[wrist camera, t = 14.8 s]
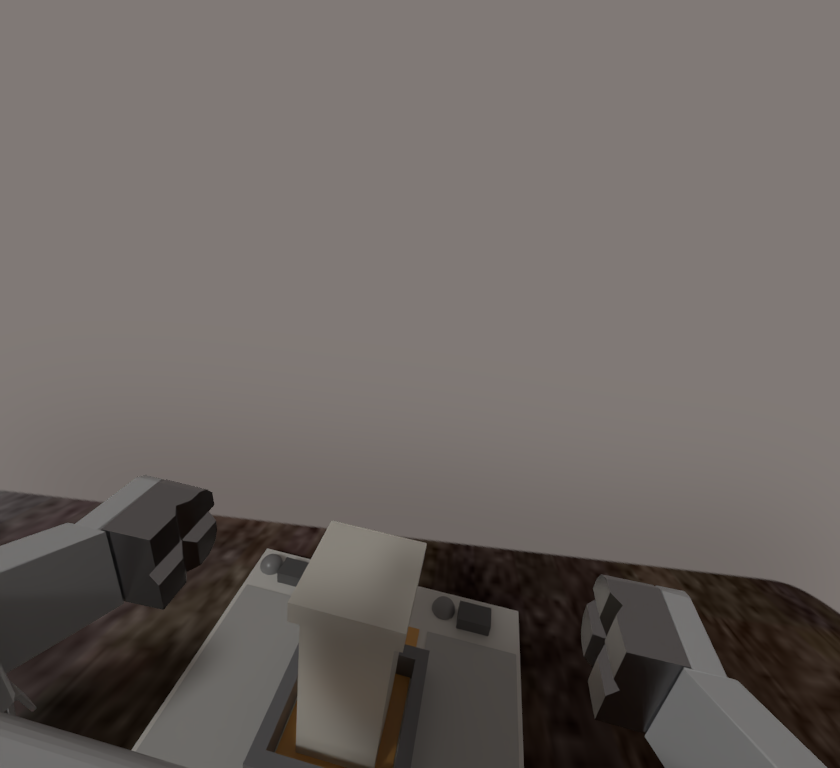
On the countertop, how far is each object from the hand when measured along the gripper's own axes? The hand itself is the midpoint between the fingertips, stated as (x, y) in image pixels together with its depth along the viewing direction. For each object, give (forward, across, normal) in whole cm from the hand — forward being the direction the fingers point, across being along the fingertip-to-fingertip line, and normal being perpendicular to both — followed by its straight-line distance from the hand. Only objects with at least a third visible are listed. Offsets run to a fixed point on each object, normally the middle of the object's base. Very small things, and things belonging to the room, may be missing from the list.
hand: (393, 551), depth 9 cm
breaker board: (+9, +3, +23) cm, 25 cm away
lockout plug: (+8, +3, +22) cm, 24 cm away
